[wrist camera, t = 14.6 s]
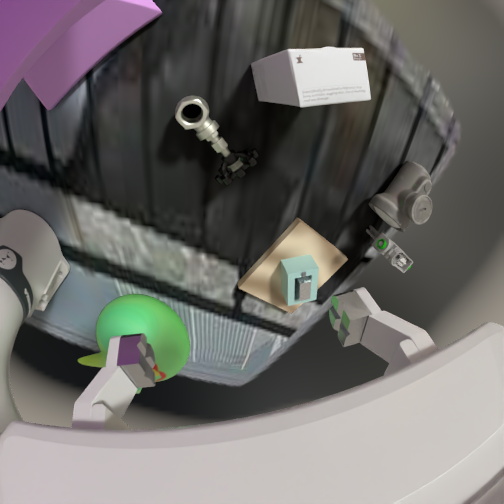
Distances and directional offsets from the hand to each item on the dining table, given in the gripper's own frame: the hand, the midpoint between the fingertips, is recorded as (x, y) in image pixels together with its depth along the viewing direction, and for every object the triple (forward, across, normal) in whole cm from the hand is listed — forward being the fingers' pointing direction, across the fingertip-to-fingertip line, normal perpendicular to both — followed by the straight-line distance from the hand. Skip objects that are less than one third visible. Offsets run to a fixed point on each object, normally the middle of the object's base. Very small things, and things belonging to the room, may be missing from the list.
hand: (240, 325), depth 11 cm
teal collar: (+30, +12, -24) cm, 40 cm away
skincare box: (+31, +12, +9) cm, 35 cm away
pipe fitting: (+32, +32, -10) cm, 46 cm away
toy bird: (+31, -17, -28) cm, 45 cm away
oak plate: (+31, +13, -24) cm, 41 cm away
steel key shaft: (+30, +13, -24) cm, 40 cm away
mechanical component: (+31, +28, -18) cm, 46 cm away
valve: (+32, +1, +2) cm, 32 cm away
